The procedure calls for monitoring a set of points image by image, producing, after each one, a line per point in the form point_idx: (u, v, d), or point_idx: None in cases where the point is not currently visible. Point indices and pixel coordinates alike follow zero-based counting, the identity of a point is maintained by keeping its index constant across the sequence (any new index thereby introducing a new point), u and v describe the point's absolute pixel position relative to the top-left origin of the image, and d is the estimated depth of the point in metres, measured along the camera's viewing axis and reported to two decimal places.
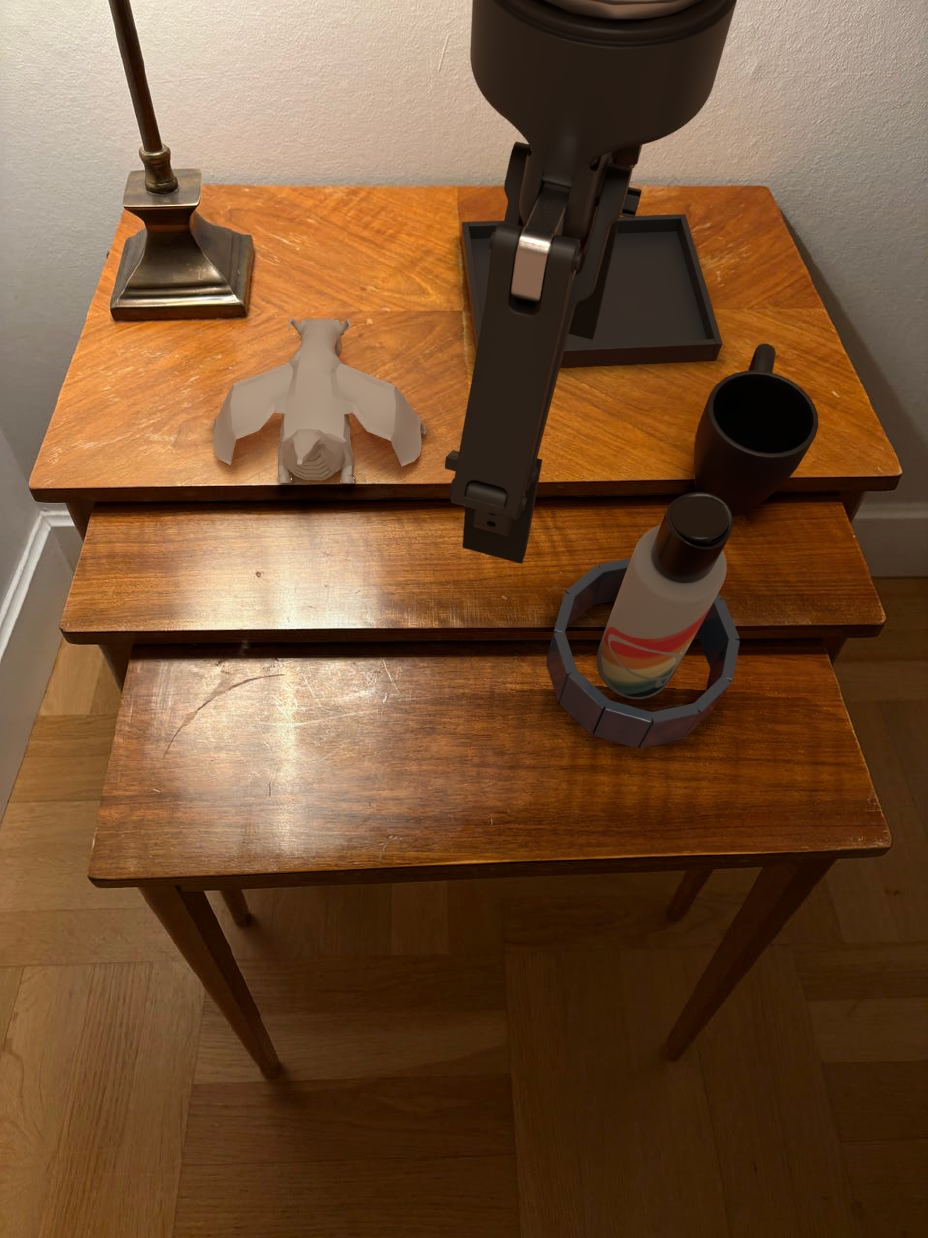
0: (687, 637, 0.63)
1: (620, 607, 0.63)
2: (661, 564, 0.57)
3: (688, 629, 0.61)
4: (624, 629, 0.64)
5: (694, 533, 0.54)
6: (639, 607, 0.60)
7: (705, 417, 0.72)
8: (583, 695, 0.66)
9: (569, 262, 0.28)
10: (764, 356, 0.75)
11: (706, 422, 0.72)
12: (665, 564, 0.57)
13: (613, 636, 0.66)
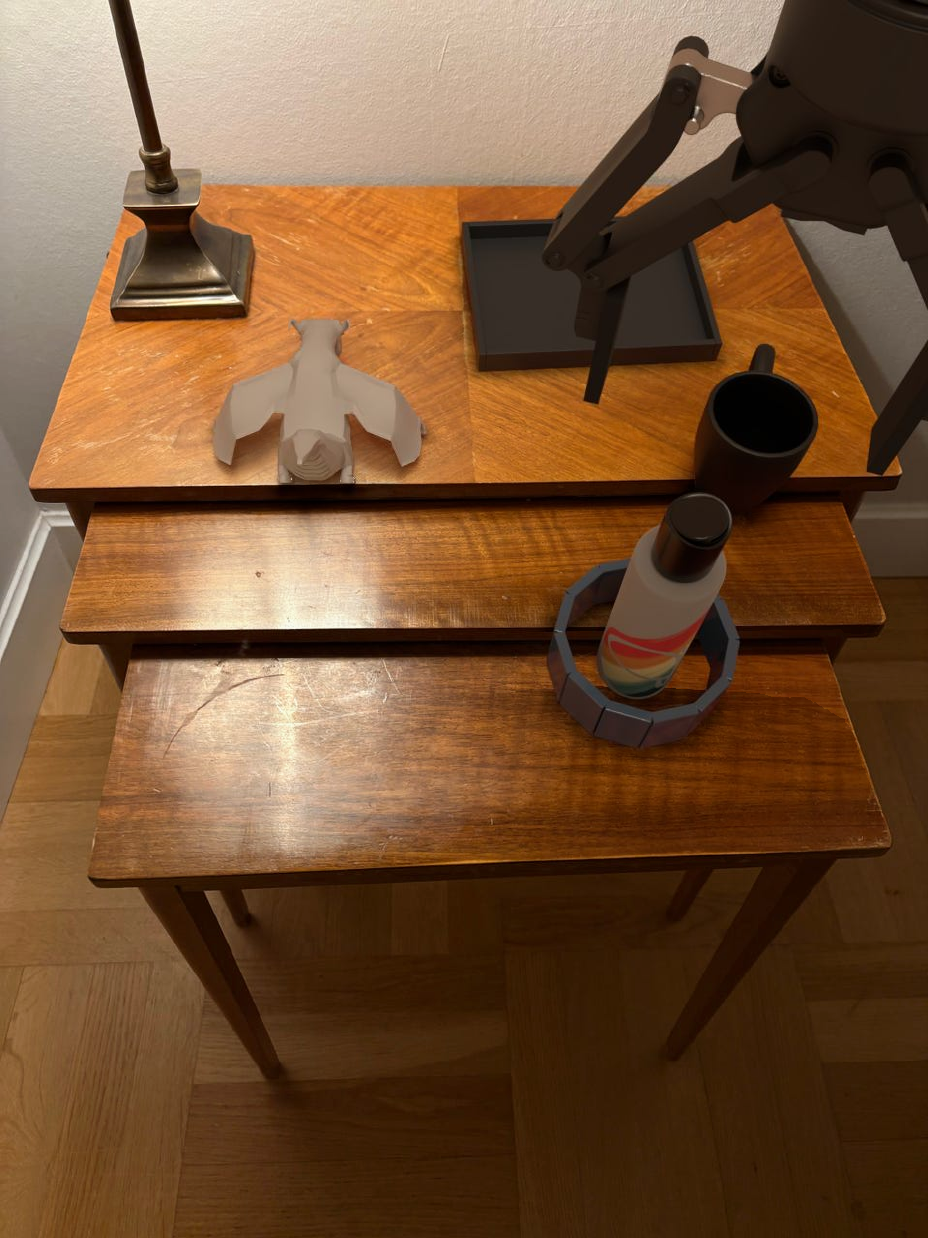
0: (687, 637, 0.63)
1: (620, 607, 0.63)
2: (661, 564, 0.57)
3: (688, 629, 0.61)
4: (624, 629, 0.64)
5: (694, 533, 0.54)
6: (639, 607, 0.60)
7: (705, 417, 0.72)
8: (583, 695, 0.66)
9: None
10: (764, 356, 0.75)
11: (706, 422, 0.72)
12: (665, 564, 0.57)
13: (613, 636, 0.66)
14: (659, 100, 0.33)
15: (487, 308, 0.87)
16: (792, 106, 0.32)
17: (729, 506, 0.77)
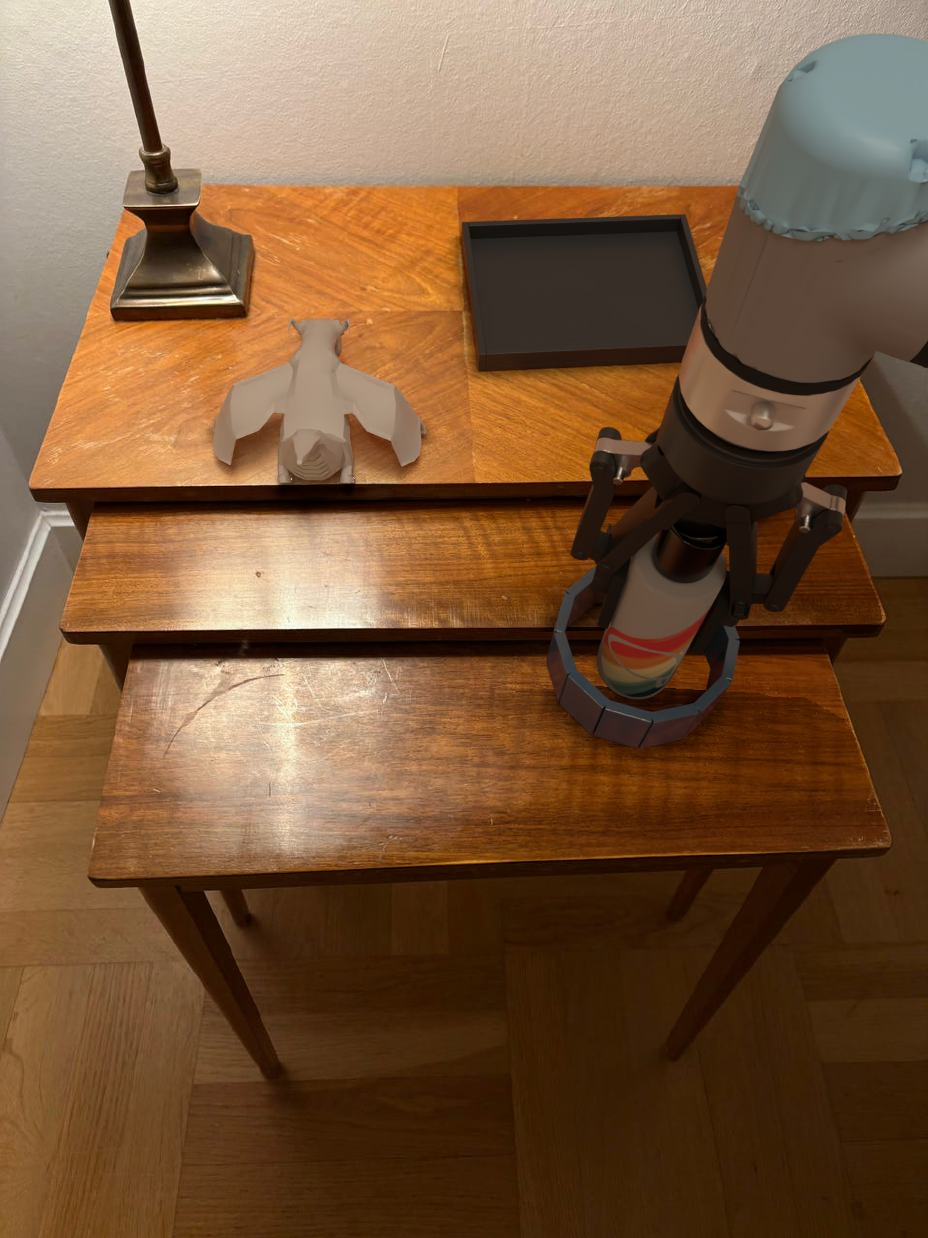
0: (687, 637, 0.63)
1: (620, 607, 0.63)
2: (661, 564, 0.57)
3: (688, 629, 0.61)
4: (624, 629, 0.64)
5: (694, 533, 0.54)
6: (639, 607, 0.60)
7: None
8: (583, 695, 0.66)
9: (846, 494, 0.51)
10: None
11: None
12: (665, 564, 0.57)
13: (613, 636, 0.66)
14: (591, 473, 0.52)
15: (487, 308, 0.87)
16: None
17: None
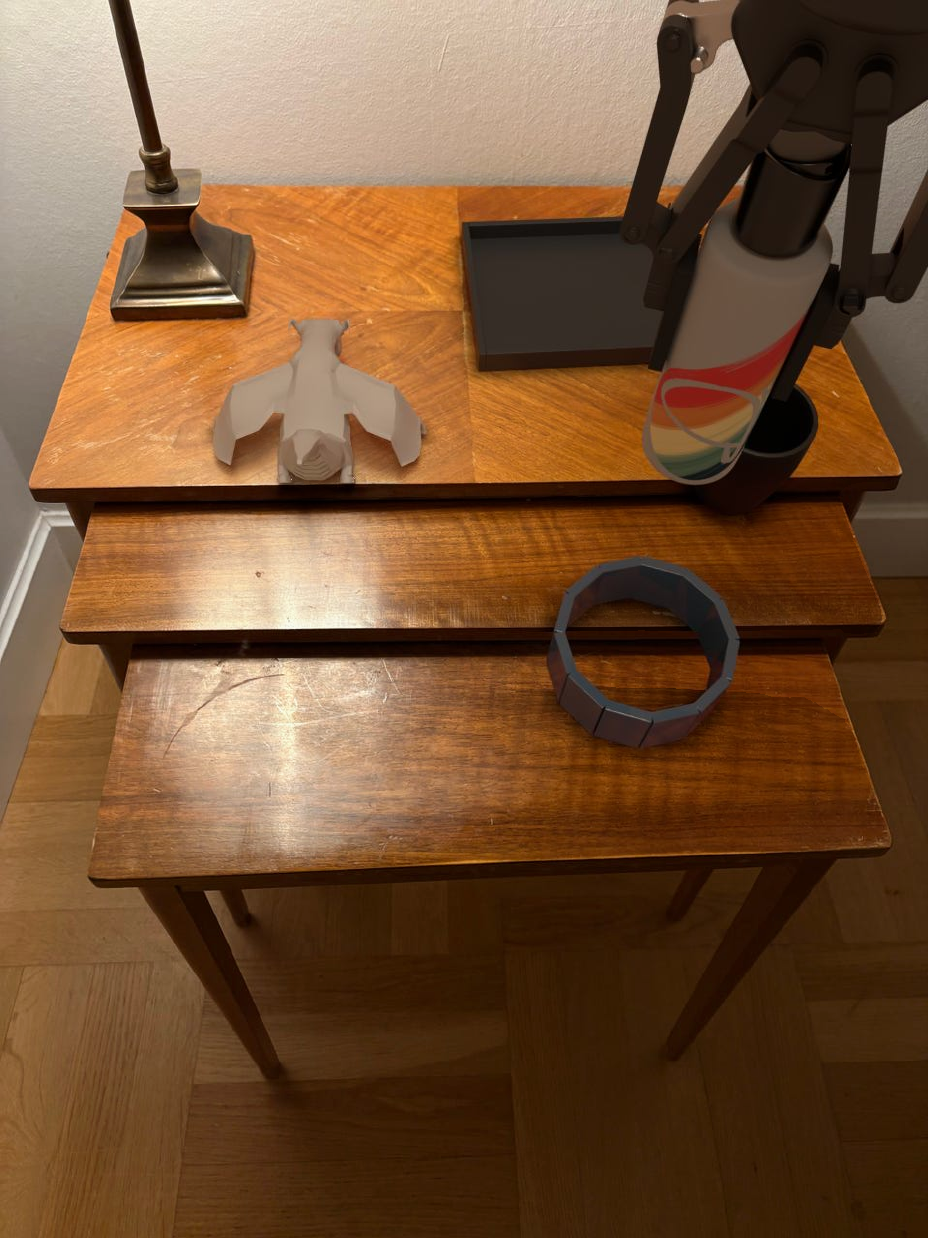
0: (772, 364, 0.47)
1: (682, 328, 0.47)
2: (748, 229, 0.41)
3: (776, 346, 0.46)
4: (687, 360, 0.48)
5: (801, 159, 0.38)
6: (712, 311, 0.45)
7: None
8: (583, 695, 0.66)
9: None
10: None
11: None
12: (754, 226, 0.41)
13: (669, 382, 0.50)
14: (658, 54, 0.37)
15: (487, 308, 0.87)
16: (784, 14, 0.34)
17: (729, 506, 0.77)
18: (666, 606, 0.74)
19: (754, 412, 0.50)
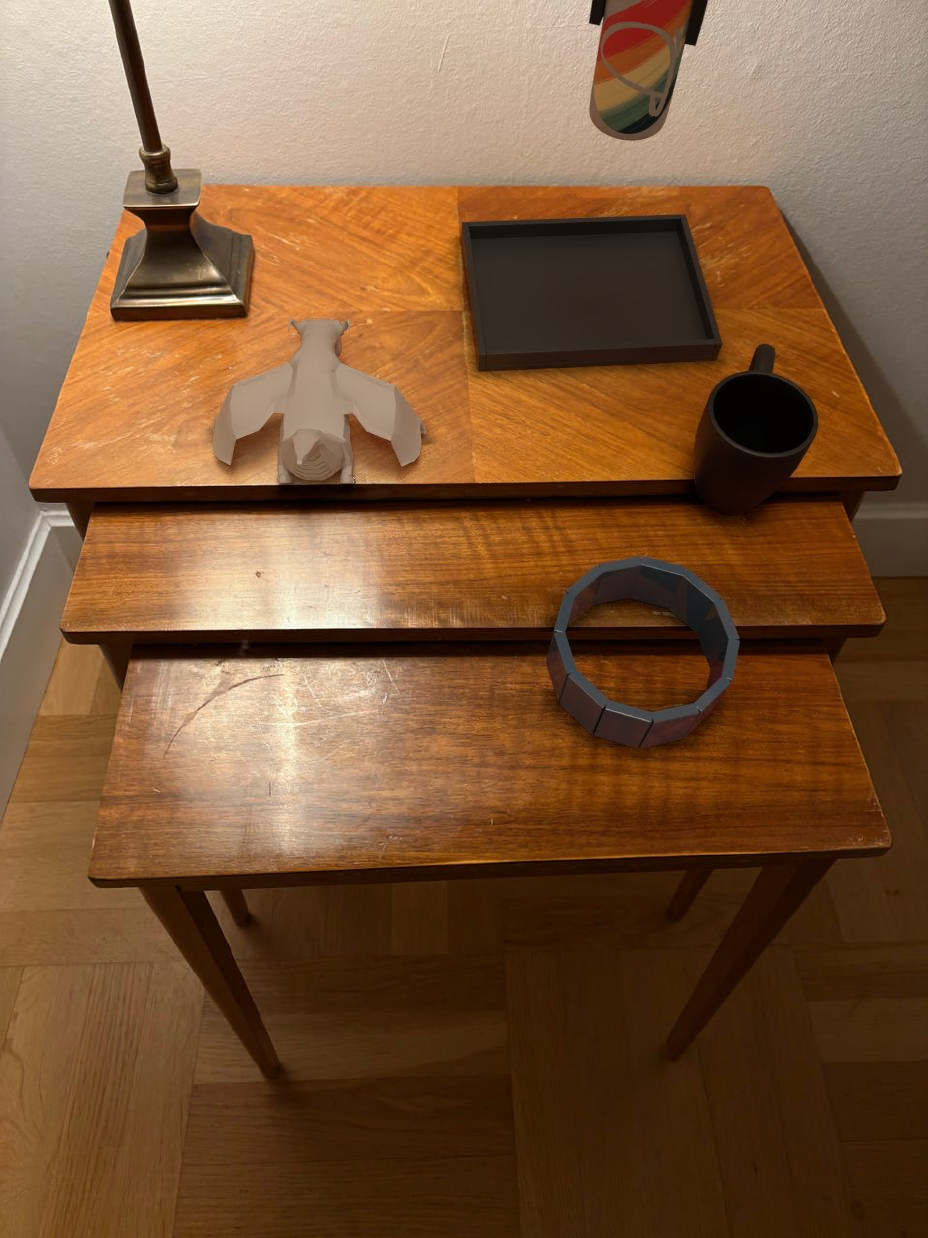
0: (681, 1, 0.61)
1: None
2: None
3: None
4: (616, 4, 0.62)
5: None
6: None
7: (705, 417, 0.72)
8: (583, 695, 0.66)
9: None
10: (764, 356, 0.75)
11: (706, 422, 0.72)
12: None
13: (605, 33, 0.64)
14: None
15: (487, 308, 0.87)
16: None
17: (729, 506, 0.77)
18: (666, 606, 0.74)
19: (671, 58, 0.65)
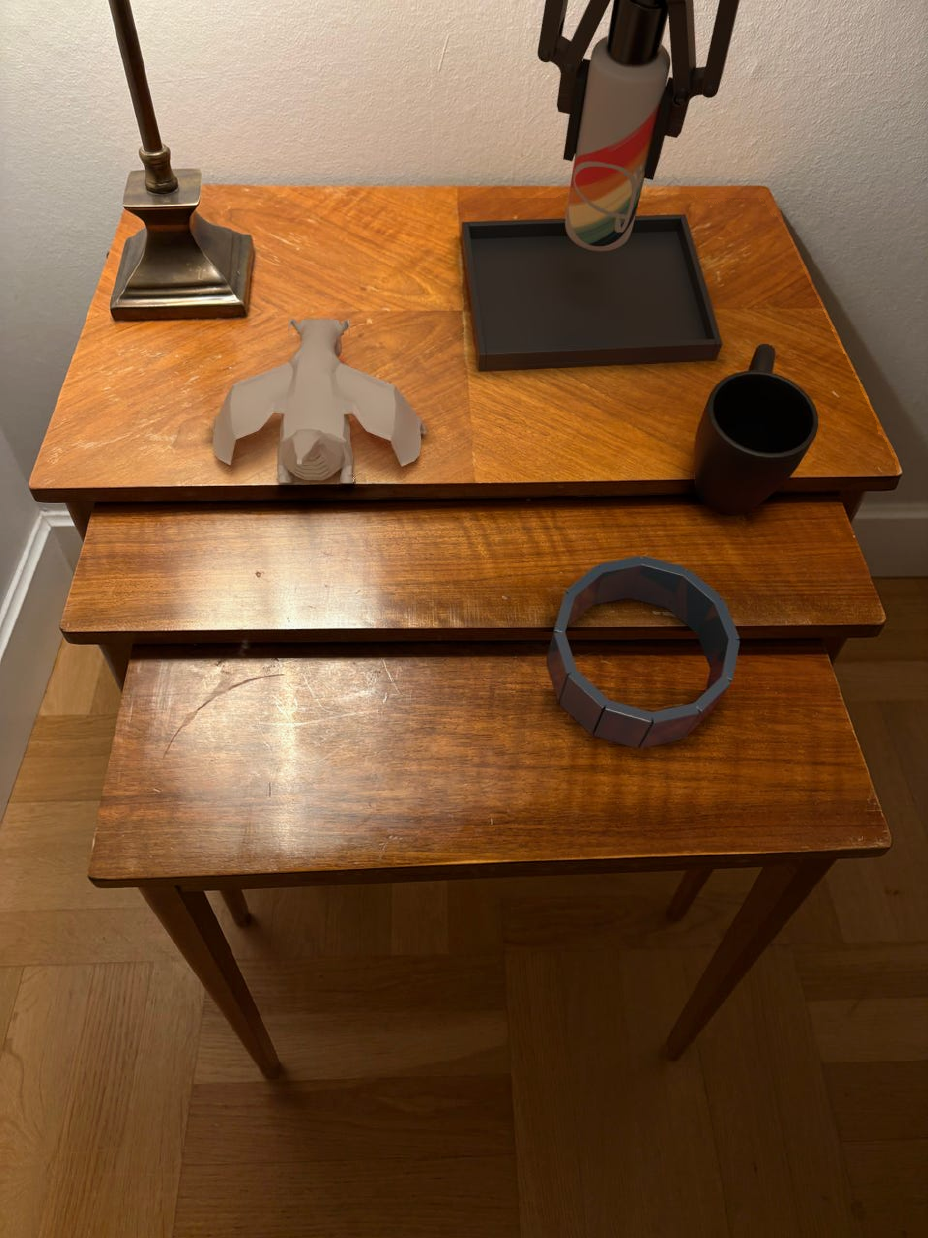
0: (639, 147, 0.73)
1: (582, 124, 0.73)
2: (613, 45, 0.67)
3: (639, 131, 0.72)
4: (585, 147, 0.74)
5: None
6: (597, 105, 0.71)
7: (705, 417, 0.72)
8: (583, 695, 0.66)
9: None
10: (764, 356, 0.75)
11: (706, 422, 0.72)
12: (616, 43, 0.67)
13: (577, 167, 0.76)
14: None
15: (487, 308, 0.87)
16: None
17: (729, 506, 0.77)
18: (666, 606, 0.74)
19: (633, 188, 0.76)
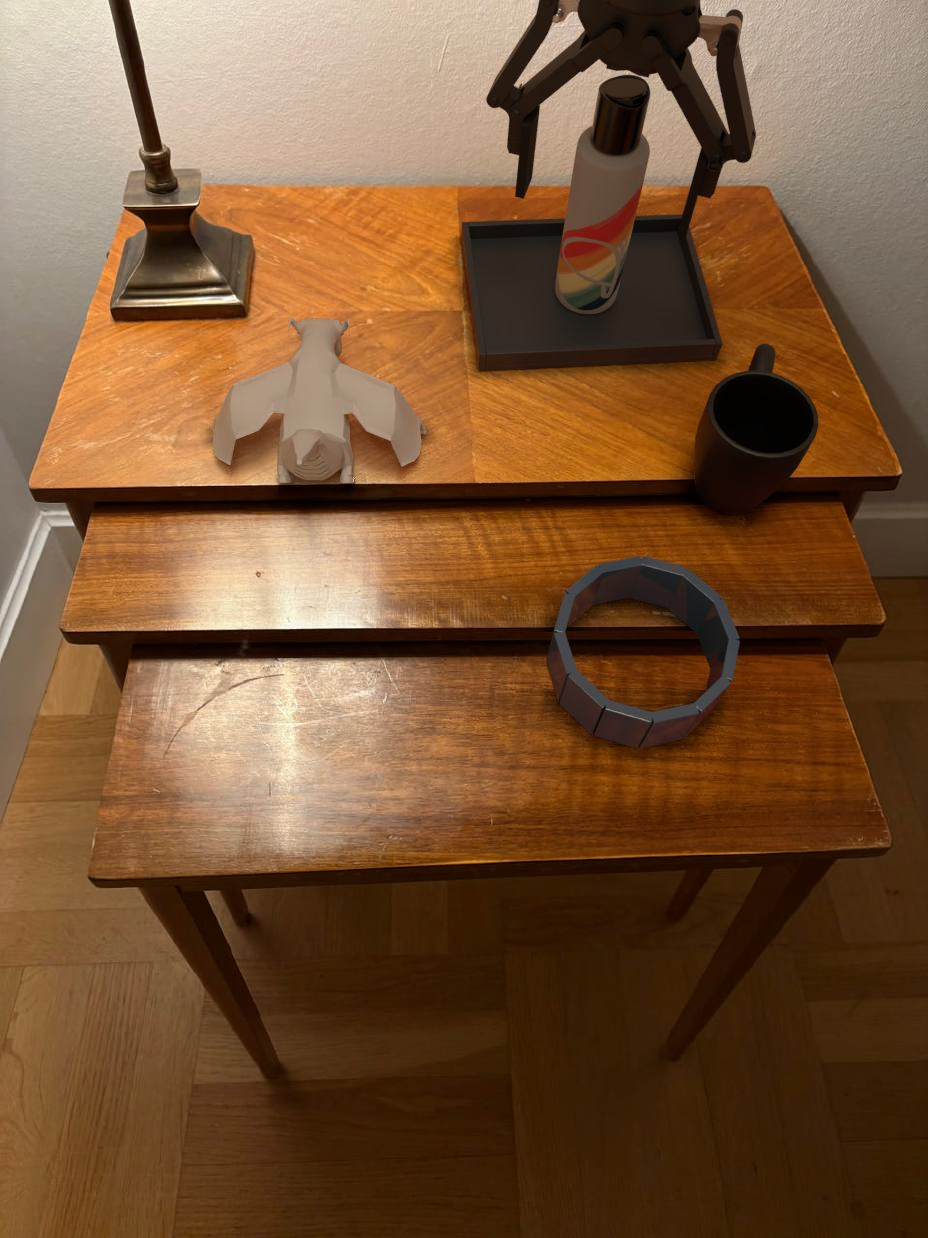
0: (622, 225, 0.79)
1: (569, 203, 0.80)
2: (597, 137, 0.74)
3: (622, 212, 0.78)
4: (573, 224, 0.80)
5: (619, 96, 0.71)
6: (582, 189, 0.77)
7: (705, 417, 0.72)
8: (583, 695, 0.66)
9: (742, 15, 0.66)
10: (764, 356, 0.75)
11: (706, 422, 0.72)
12: (600, 136, 0.73)
13: (565, 241, 0.82)
14: (538, 4, 0.67)
15: (487, 308, 0.87)
16: (602, 5, 0.66)
17: (729, 506, 0.77)
18: (666, 606, 0.74)
19: (617, 260, 0.83)
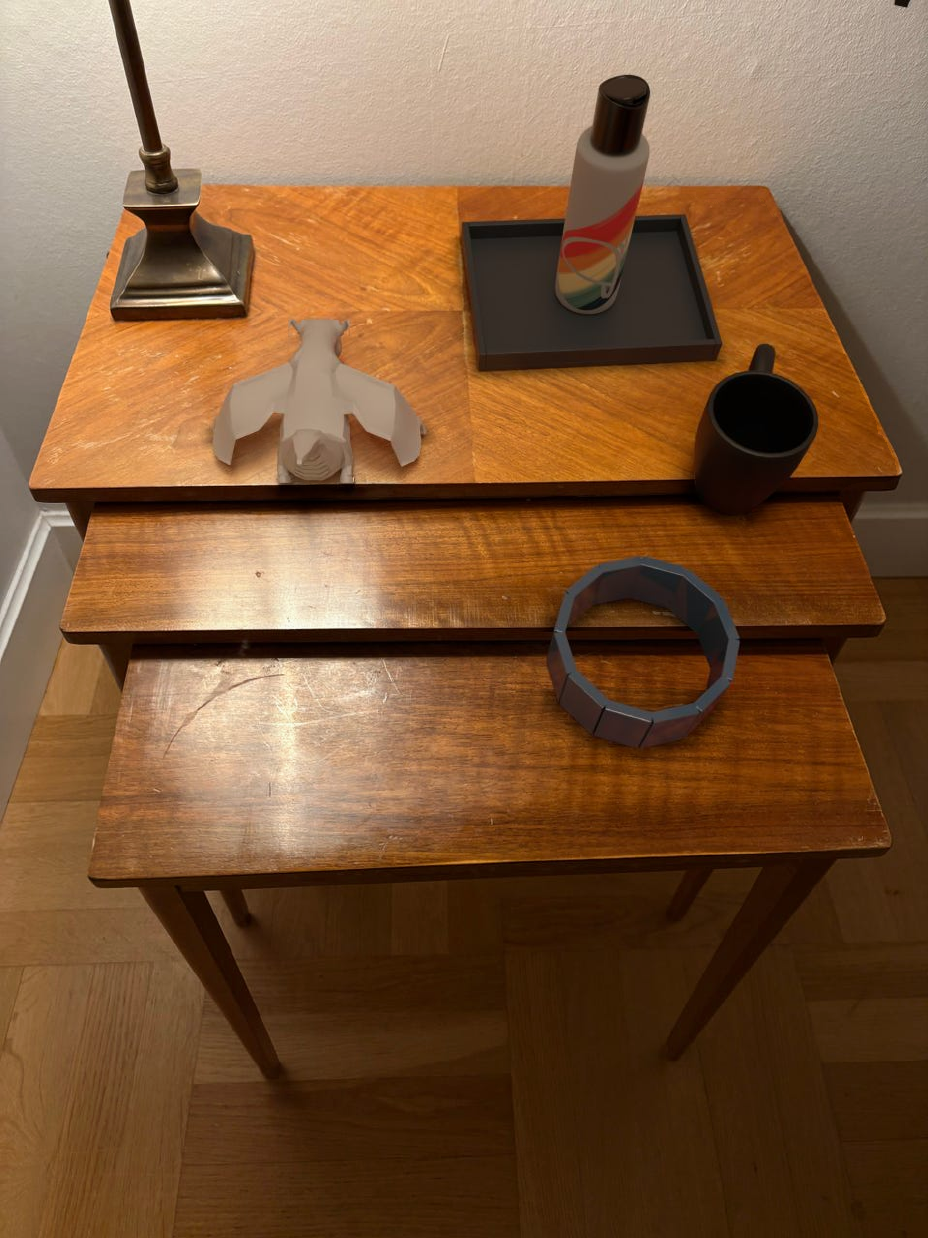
0: (622, 225, 0.79)
1: (569, 203, 0.80)
2: (597, 137, 0.74)
3: (621, 211, 0.78)
4: (573, 224, 0.80)
5: (619, 96, 0.71)
6: (582, 189, 0.77)
7: (705, 417, 0.72)
8: (583, 695, 0.66)
9: None
10: (764, 356, 0.75)
11: (706, 422, 0.72)
12: (600, 135, 0.73)
13: (565, 241, 0.82)
14: None
15: (487, 308, 0.87)
16: None
17: (729, 506, 0.77)
18: (666, 606, 0.74)
19: (617, 260, 0.83)
